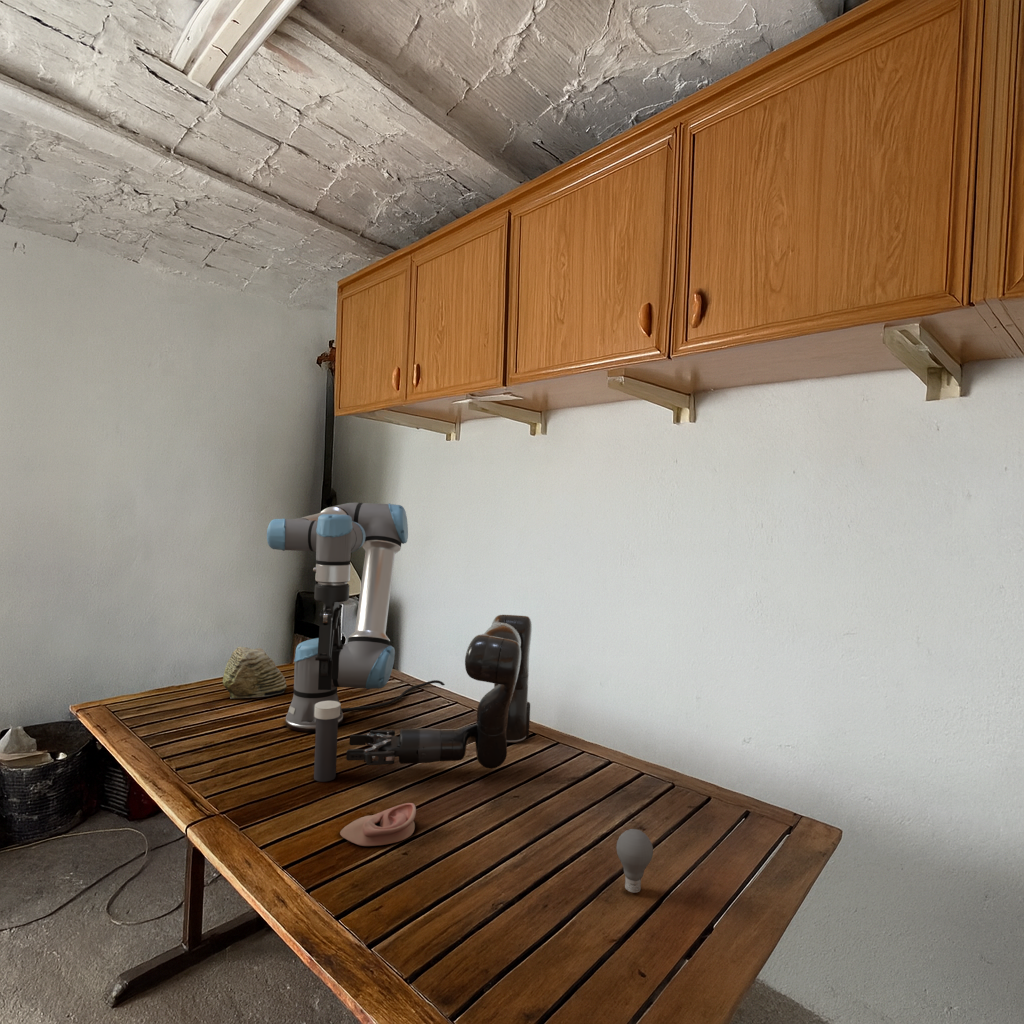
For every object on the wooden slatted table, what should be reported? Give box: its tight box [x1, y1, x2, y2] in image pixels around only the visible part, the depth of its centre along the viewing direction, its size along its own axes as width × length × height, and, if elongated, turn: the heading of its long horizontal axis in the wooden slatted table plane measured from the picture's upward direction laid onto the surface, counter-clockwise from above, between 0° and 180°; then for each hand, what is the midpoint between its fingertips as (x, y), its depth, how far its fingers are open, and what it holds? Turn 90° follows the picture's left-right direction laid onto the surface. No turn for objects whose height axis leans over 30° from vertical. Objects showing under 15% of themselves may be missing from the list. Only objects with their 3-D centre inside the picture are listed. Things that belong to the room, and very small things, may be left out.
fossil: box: [222, 646, 288, 699], centre depth 198 cm, size 9×18×15 cm, turn 132°
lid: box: [314, 701, 342, 720], centre depth 143 cm, size 6×6×2 cm
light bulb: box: [615, 828, 654, 894], centre depth 106 cm, size 6×6×10 cm
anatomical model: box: [339, 802, 417, 847], centre depth 121 cm, size 13×4×12 cm
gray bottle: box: [313, 717, 339, 783], centre depth 143 cm, size 5×5×16 cm
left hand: (328, 683), depth 143 cm, fingers open, 8 cm apart
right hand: (348, 747), depth 144 cm, fingers open, 8 cm apart
